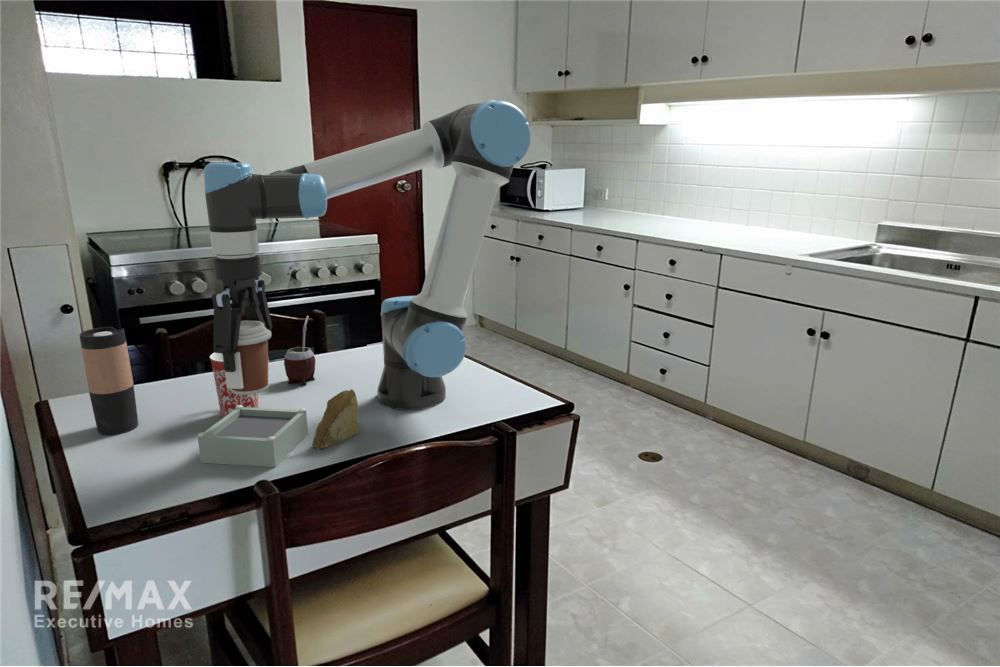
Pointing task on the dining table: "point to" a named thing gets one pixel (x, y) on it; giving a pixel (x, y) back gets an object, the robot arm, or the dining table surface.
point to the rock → (338, 420)
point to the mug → (228, 389)
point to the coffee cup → (253, 357)
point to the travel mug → (109, 380)
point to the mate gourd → (300, 363)
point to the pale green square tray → (253, 436)
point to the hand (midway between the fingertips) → (248, 378)
